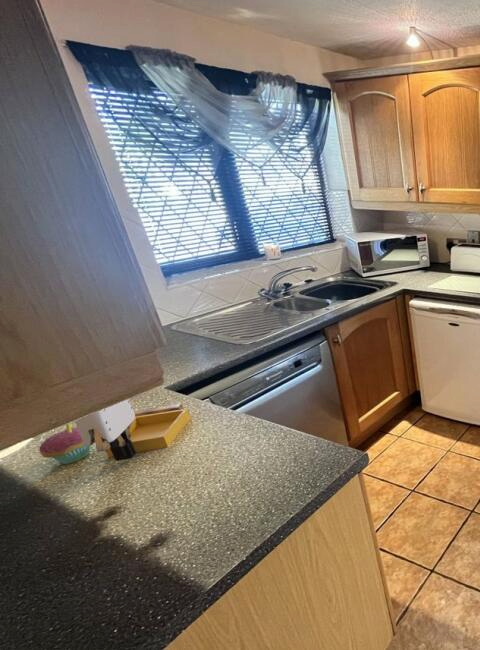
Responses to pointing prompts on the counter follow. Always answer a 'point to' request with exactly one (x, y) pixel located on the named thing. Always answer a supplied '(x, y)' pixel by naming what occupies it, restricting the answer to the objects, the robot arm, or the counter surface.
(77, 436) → the cupcake
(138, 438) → the tray
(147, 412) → the rail
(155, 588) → the counter surface
